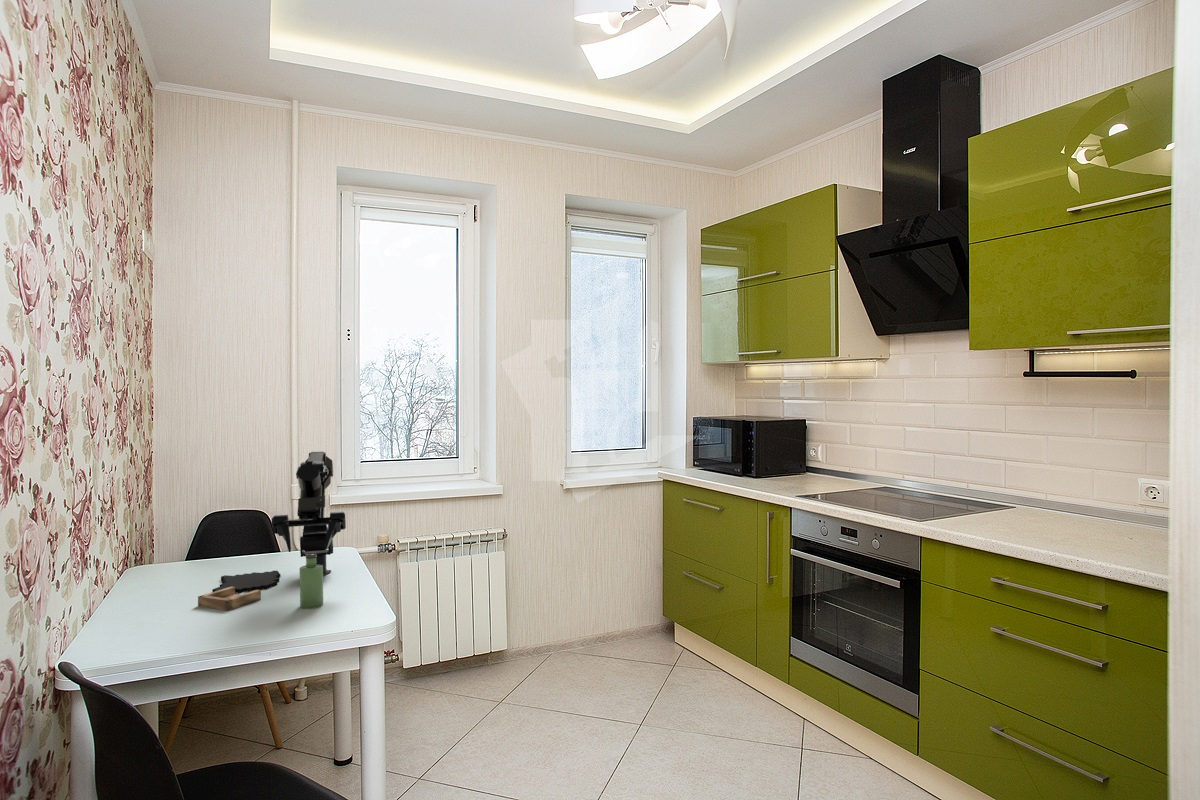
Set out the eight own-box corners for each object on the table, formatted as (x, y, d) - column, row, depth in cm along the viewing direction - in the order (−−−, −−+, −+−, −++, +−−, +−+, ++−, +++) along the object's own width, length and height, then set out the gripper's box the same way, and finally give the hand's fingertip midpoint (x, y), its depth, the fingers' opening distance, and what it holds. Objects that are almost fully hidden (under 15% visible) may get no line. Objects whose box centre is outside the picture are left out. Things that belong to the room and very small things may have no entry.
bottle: (306, 601, 183) (306, 551, 183) (327, 602, 183) (326, 551, 183) (295, 608, 178) (295, 556, 178) (316, 608, 177) (316, 556, 177)
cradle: (231, 595, 190) (231, 586, 190) (260, 599, 186) (260, 590, 186) (198, 606, 181) (197, 596, 181) (228, 610, 177) (228, 600, 177)
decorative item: (242, 569, 215) (300, 571, 211) (242, 573, 215) (300, 576, 211) (184, 589, 192) (247, 593, 188) (184, 595, 192) (247, 598, 188)
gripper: (271, 486, 188) (266, 538, 179) (344, 483, 194) (343, 532, 184) (276, 508, 196) (271, 558, 187) (346, 504, 202) (345, 552, 192)
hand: (308, 550), depth 187 cm, fingers open, 9 cm apart
